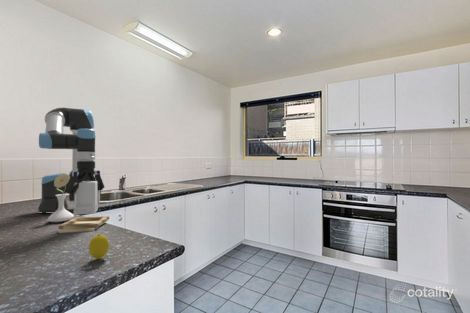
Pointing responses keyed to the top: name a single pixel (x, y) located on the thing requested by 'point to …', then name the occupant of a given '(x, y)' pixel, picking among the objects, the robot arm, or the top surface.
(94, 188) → the supplement box
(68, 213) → the flower in vase
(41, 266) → the top surface
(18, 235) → the top surface
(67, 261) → the top surface
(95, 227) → the tray
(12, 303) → the top surface
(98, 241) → the lemon
